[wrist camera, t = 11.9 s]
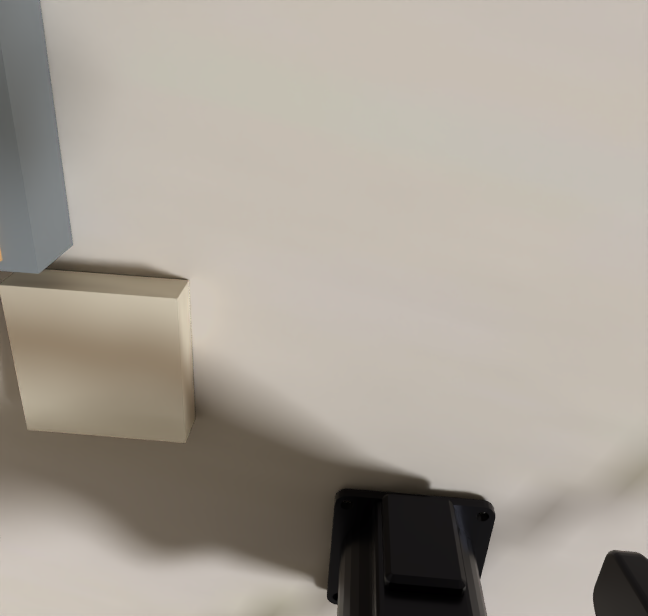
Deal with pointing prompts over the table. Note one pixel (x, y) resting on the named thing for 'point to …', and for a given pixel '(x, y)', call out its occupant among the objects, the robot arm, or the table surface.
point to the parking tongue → (102, 353)
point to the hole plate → (29, 146)
